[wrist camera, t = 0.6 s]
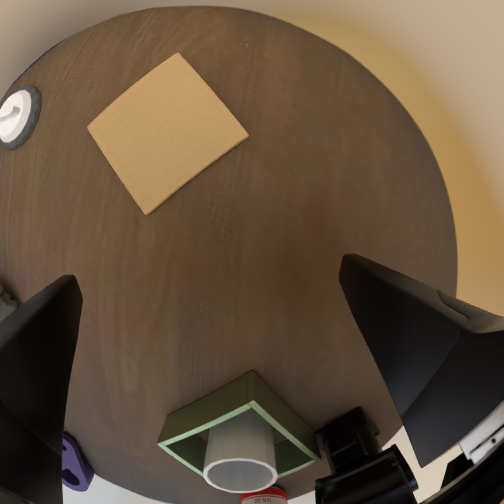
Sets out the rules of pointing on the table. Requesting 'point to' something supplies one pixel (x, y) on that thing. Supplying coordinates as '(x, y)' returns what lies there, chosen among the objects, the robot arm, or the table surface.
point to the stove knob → (19, 117)
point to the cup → (241, 454)
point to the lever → (74, 467)
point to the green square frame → (229, 405)
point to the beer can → (265, 496)
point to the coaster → (165, 132)
